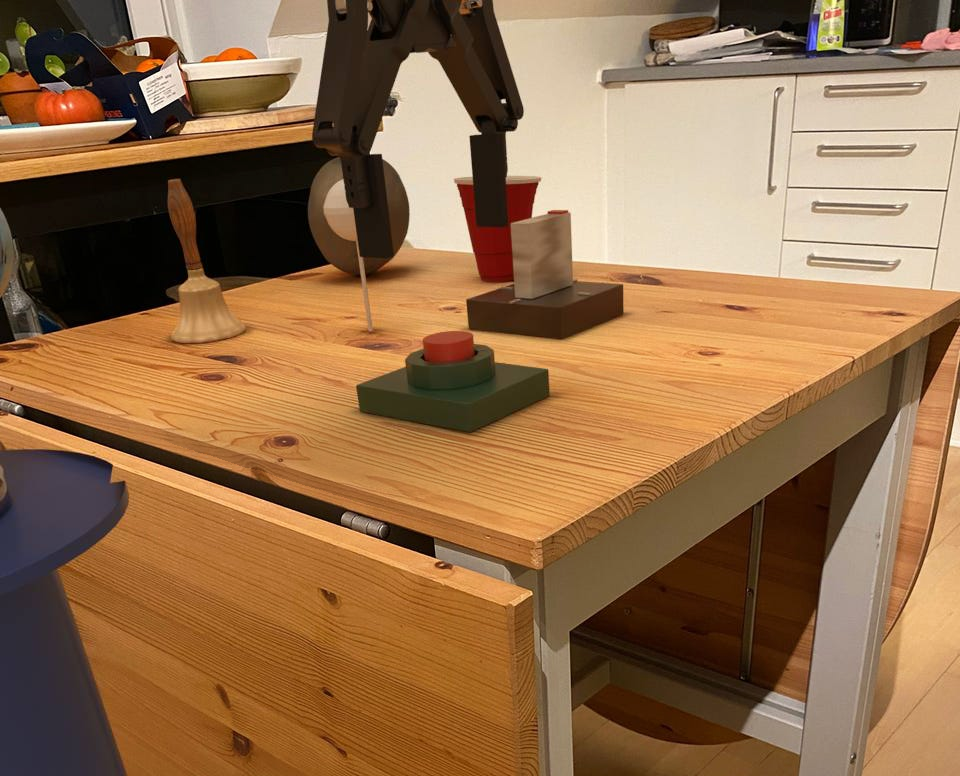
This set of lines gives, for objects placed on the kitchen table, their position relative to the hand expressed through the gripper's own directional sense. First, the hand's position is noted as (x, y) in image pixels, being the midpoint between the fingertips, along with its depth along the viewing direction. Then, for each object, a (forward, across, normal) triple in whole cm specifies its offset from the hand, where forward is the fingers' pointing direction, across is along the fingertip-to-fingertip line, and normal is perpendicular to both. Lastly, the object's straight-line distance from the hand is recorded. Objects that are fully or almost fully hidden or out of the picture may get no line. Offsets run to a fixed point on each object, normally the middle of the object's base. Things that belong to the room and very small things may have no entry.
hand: (437, 241), depth 74 cm
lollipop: (+13, +16, +26) cm, 33 cm away
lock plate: (+12, +26, +10) cm, 30 cm away
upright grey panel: (+9, +26, +10) cm, 29 cm away
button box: (+12, 0, 0) cm, 12 cm away
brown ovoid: (+13, +40, +51) cm, 66 cm away
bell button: (+9, 0, 0) cm, 9 cm away
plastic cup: (+13, +44, +30) cm, 55 cm away
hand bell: (+13, +8, +44) cm, 46 cm away
